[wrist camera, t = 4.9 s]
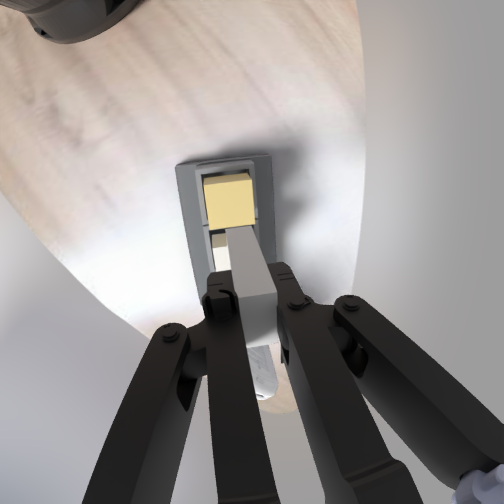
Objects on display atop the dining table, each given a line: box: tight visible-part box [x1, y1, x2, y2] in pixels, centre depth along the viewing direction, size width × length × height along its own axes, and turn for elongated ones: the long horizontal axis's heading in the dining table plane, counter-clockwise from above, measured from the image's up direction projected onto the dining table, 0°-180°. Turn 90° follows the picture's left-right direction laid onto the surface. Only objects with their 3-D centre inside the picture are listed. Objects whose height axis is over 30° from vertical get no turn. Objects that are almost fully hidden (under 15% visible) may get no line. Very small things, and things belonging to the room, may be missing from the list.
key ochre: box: [204, 173, 255, 230], centre depth 24 cm, size 4×4×3 cm
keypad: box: [175, 154, 276, 305], centre depth 30 cm, size 18×10×4 cm, turn 4°
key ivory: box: [212, 233, 230, 272], centre depth 27 cm, size 4×4×3 cm
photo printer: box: [247, 345, 278, 400], centre depth 33 cm, size 10×4×12 cm, turn 38°
